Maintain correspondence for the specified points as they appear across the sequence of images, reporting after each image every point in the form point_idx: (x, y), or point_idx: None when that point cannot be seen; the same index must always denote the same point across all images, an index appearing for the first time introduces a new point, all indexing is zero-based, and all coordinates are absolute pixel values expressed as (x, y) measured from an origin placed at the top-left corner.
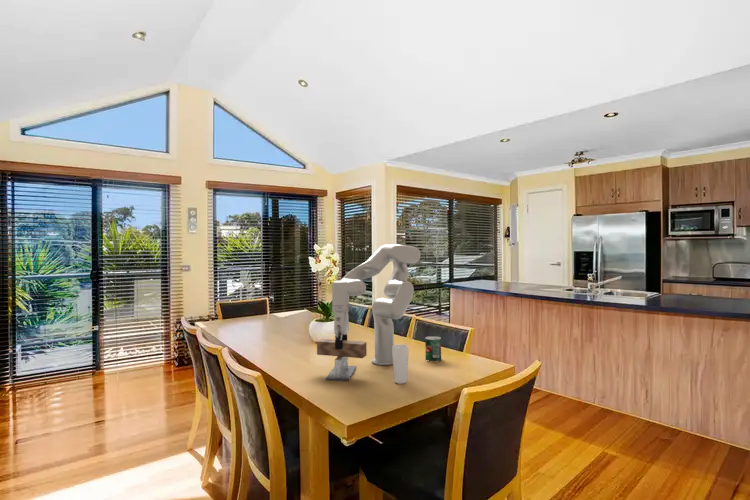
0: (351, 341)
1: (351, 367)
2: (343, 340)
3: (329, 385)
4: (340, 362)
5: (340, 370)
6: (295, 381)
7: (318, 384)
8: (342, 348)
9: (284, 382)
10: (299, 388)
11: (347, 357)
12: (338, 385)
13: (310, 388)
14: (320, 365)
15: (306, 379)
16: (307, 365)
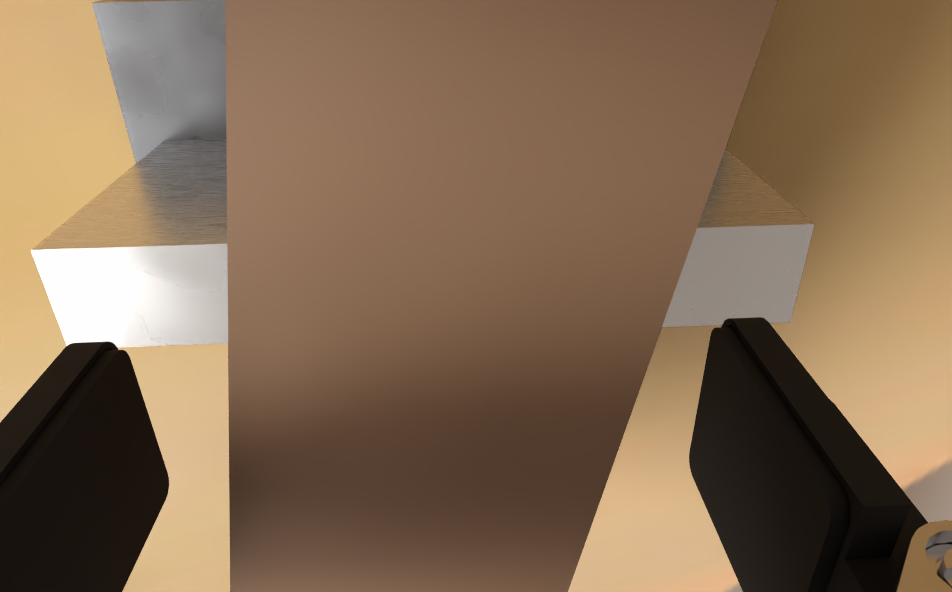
0: (340, 190)
1: (202, 72)
2: (249, 482)
3: (871, 199)
4: (763, 204)
5: (723, 155)
6: (705, 527)
7: (817, 321)
8: (751, 319)
9: (725, 587)
10: (904, 445)
11: (143, 194)
12: (891, 89)
13: (926, 359)
14: (169, 477)
15: (651, 465)
16: (214, 578)
